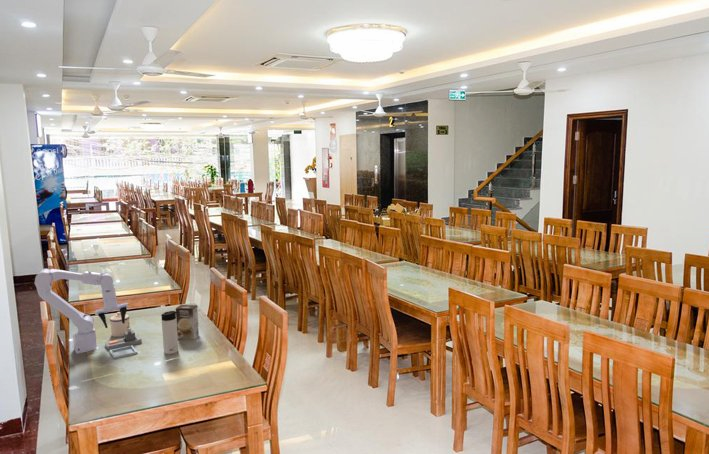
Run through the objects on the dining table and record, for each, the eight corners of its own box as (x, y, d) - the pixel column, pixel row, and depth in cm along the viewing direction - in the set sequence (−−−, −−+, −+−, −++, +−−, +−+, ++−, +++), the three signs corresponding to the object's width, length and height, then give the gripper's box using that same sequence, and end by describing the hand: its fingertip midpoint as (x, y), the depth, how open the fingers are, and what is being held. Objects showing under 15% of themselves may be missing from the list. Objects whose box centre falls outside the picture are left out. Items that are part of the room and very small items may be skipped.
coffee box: (176, 339, 251) (174, 308, 248) (182, 334, 257) (180, 304, 255) (194, 339, 250) (192, 308, 248) (199, 335, 256) (197, 304, 254)
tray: (114, 360, 226) (113, 357, 226) (109, 353, 234) (109, 350, 234) (137, 354, 232) (137, 351, 232) (132, 348, 240) (132, 345, 240)
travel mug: (174, 356, 229) (171, 314, 226) (161, 355, 231) (158, 313, 228) (181, 351, 235) (178, 309, 233) (169, 350, 237) (166, 309, 234)
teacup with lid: (132, 334, 258) (130, 312, 257) (112, 338, 253) (110, 316, 251) (127, 328, 268) (125, 307, 266) (108, 332, 263) (106, 310, 261)
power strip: (108, 351, 236) (107, 345, 236) (105, 347, 242) (104, 340, 242) (141, 344, 245) (141, 338, 245) (138, 339, 251) (137, 334, 250)
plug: (127, 346, 242) (125, 330, 241) (125, 344, 246) (123, 328, 244) (135, 344, 245) (134, 328, 244) (133, 342, 248) (132, 326, 247)
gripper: (94, 304, 233) (100, 331, 236) (127, 296, 242) (132, 322, 244) (92, 301, 239) (97, 328, 241) (124, 293, 247) (129, 319, 250)
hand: (114, 325), depth 243 cm, fingers open, 7 cm apart
